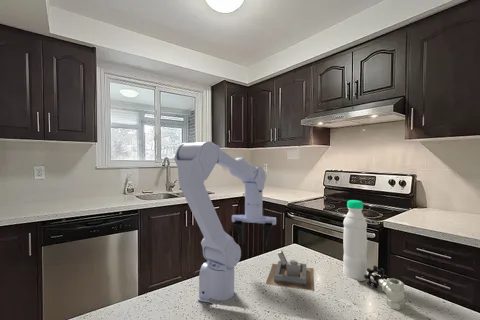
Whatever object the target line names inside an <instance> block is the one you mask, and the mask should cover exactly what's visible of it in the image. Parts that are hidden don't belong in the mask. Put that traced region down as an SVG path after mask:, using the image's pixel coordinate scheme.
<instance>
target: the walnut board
mask: <svg viewBox="0 0 480 320" xmlns="http://www.w3.org/2000/svg"><path fill="white" fill-rule="evenodd" d="M277 264H278V263H277ZM277 264H276V263H272V264H271V267H270V270H269V273H268V276H267V279H266V281H265V285H271V286H277V287H285V288H292V289H298V290H306V291H315V279H314V278H315V277H314V274H315V271H314V268H313V267H312V268H311V267H306V286H299V285H292V284H285V283H278V282H274V274H275V271H276V268H277ZM280 274H281V275H287V269H281V273H280ZM300 277H302V271H300Z"/></svg>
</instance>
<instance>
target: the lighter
mask: <svg viewBox="0 0 480 320" xmlns="http://www.w3.org/2000/svg"><path fill="white" fill-rule="evenodd" d="M277 255H278V258H279V261H281V263H282V265H285V264H287V275H288V276H296V277H300V264H298V263H299V262H298V261H297V260H295V259H294V260H293V259H291V260H290V261H288V260H287V258H286V256H285V253H284V252H283V249H280V250H278V251H277Z"/></svg>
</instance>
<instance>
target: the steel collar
mask: <svg viewBox="0 0 480 320" xmlns="http://www.w3.org/2000/svg"><path fill="white" fill-rule="evenodd" d="M298 264H300V271H302V277H296V276H288V275H281V274H280V273H281V269H287V264H285V265H282V263H281V260H278V262H277V268H276V271H275V274H274V282H278V283H285V284H292V285H299V286H306V268H307V263H303V262H302V263H300V262H298Z"/></svg>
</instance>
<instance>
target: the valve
mask: <svg viewBox="0 0 480 320" xmlns="http://www.w3.org/2000/svg"><path fill="white" fill-rule="evenodd" d="M372 268H373V269H371V268H369V267H368V268H367V267H366V269H367V275H364V278H365V279H366V284H367V286H368V287H371V286H373V288H374V289H376V290H377V289H379V286H380V287H381V289H382V291H383V292H384V294H385V295H386V305H387V306H388V307H389V308H390V309H392V310H395V311H401V310H403V309H405V308H404V307H405V306H404V305H405V304H404V303H405V302H404V300H405V292H404V289H405V283H404V282H403V281H401V280H399V279H396V278H392V277H391V278H389V277H388V276H387V275H385V274H384V273H385V272H386V271H385V269H384V268H382V267H381V268H379V267H378V265H373V267H372ZM373 273H374V274H373ZM371 277H372V279H373V280H372V279H371ZM385 280H386V281H385Z"/></svg>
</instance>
